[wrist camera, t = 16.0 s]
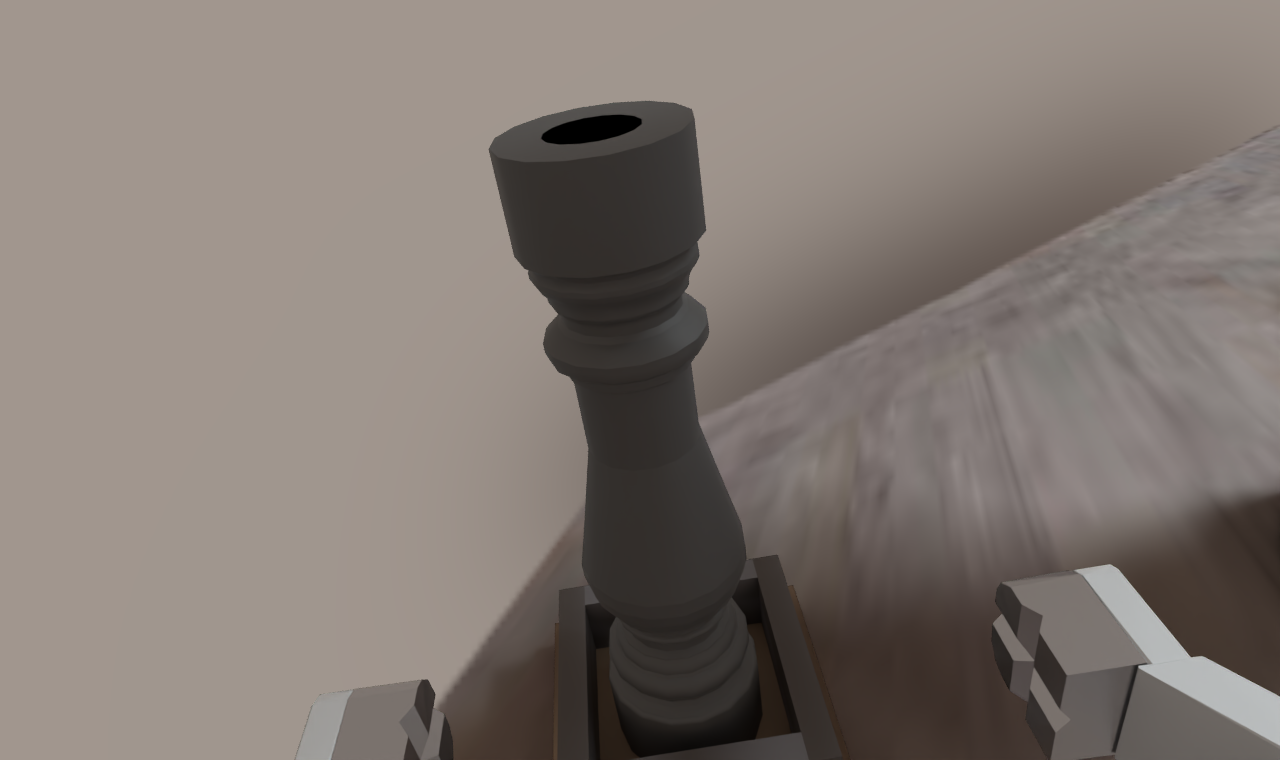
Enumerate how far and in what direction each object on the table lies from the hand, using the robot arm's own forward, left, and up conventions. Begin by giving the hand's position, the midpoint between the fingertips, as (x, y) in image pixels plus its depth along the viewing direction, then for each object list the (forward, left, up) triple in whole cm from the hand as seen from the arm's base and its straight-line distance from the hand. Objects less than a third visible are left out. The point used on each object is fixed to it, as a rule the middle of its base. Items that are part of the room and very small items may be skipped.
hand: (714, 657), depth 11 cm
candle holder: (+1, -15, -21) cm, 26 cm away
